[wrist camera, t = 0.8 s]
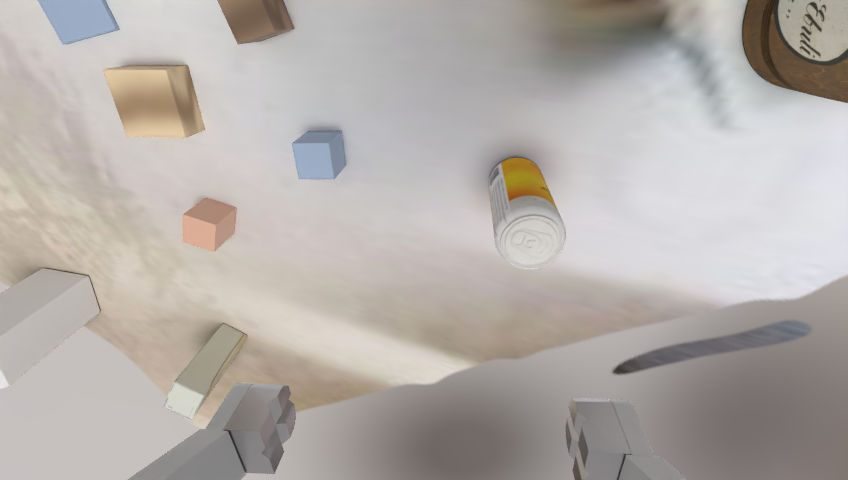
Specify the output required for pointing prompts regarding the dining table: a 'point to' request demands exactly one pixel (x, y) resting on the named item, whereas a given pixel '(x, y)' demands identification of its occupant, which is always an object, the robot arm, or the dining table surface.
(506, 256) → the beer can
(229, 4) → the walnut cube
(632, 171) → the dining table surface
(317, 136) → the blue cube
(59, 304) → the milk carton
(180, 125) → the oak base
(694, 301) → the dining table surface
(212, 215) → the terracotta cube
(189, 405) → the skincare box
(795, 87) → the wooden container
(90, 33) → the tile
